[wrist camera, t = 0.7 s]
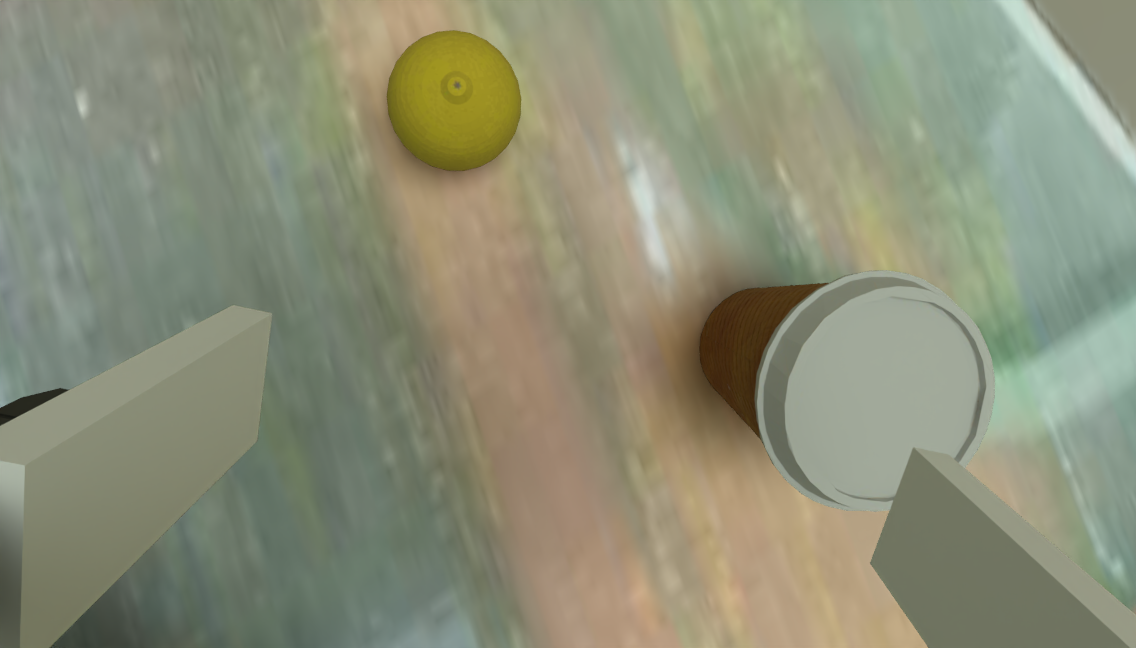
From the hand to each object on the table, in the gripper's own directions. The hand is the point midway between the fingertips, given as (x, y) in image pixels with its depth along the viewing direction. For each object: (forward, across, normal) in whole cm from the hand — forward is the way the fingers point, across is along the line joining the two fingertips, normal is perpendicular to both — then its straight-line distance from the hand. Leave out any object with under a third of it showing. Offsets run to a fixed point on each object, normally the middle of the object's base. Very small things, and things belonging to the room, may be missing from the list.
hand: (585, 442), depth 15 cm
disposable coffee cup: (+24, -10, +3) cm, 26 cm away
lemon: (+22, +7, -5) cm, 24 cm away
